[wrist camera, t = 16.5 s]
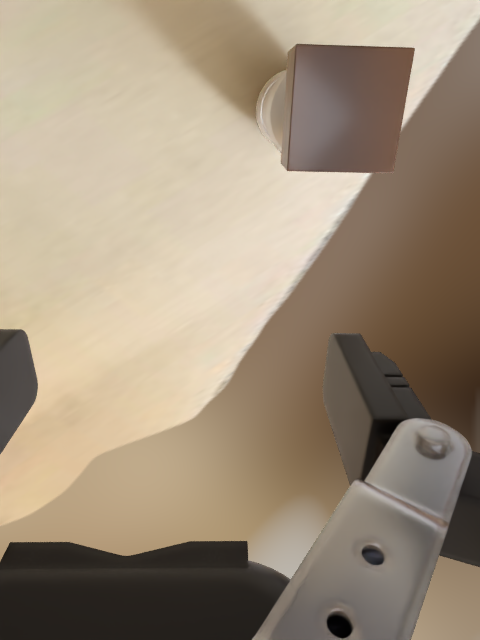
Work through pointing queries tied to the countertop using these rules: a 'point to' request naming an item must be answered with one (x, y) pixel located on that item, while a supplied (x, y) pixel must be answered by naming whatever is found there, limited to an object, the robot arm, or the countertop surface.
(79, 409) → the countertop surface
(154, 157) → the countertop surface
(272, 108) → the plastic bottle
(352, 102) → the walnut block
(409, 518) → the robot arm
